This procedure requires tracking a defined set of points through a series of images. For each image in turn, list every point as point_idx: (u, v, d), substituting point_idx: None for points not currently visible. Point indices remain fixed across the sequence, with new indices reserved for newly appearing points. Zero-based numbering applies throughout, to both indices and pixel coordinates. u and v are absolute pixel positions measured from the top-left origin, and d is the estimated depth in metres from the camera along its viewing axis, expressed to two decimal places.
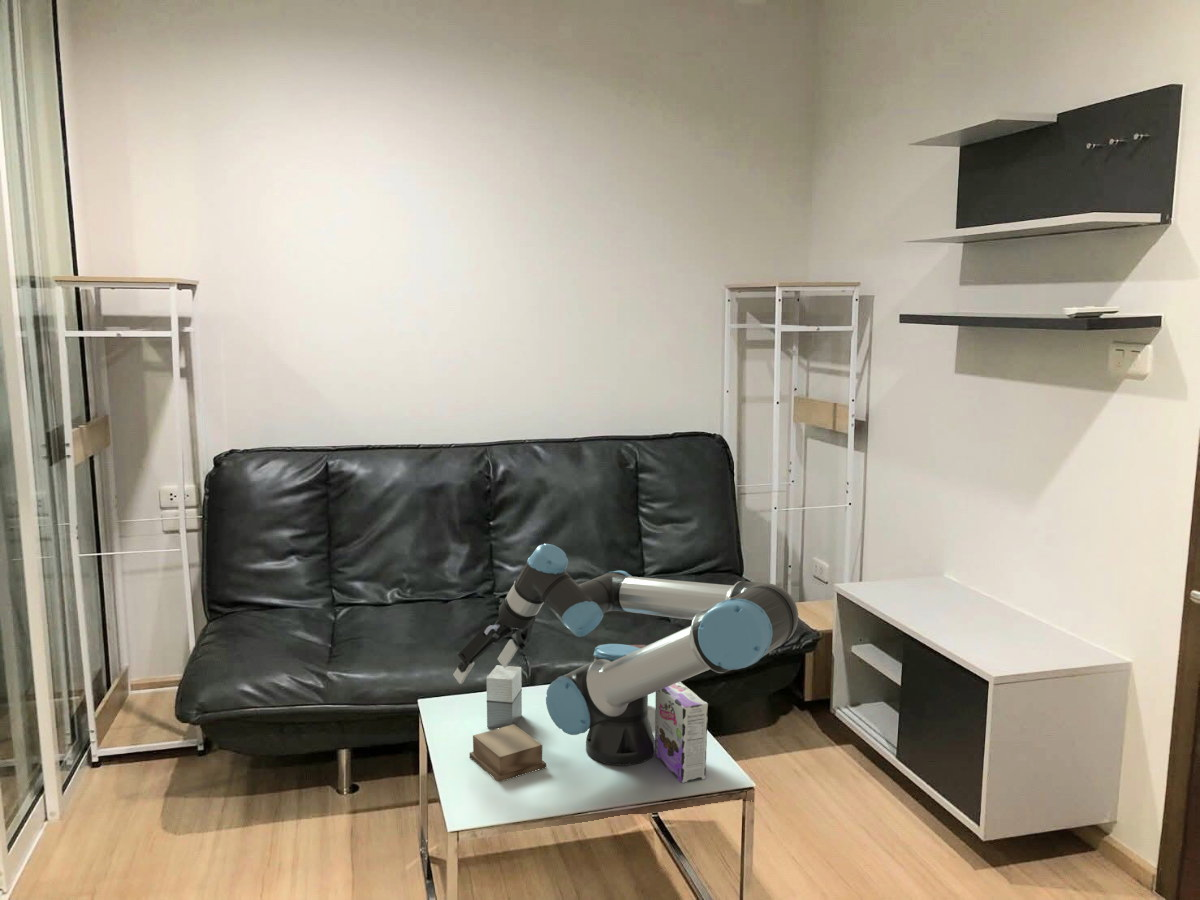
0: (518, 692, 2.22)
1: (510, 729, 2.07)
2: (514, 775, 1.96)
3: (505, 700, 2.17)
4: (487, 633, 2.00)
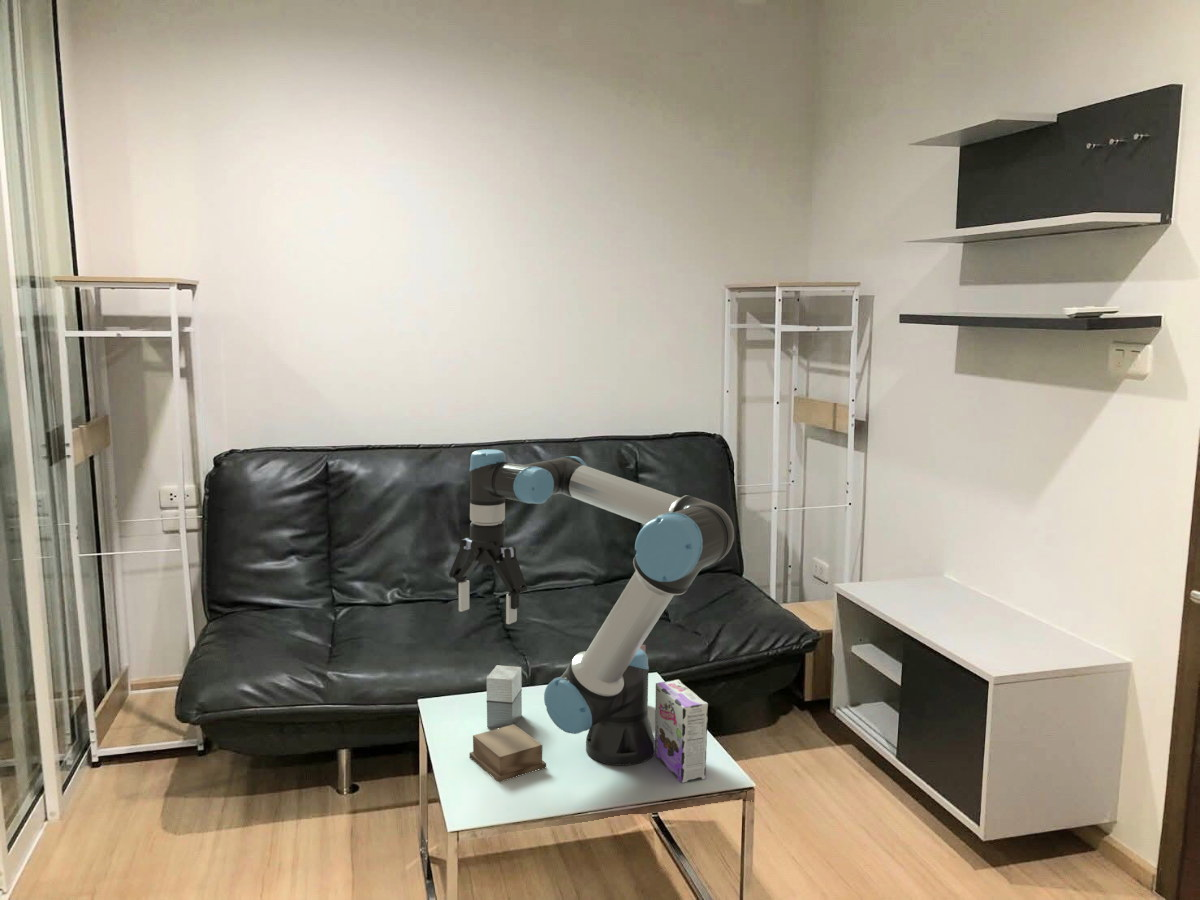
0: (518, 692, 2.22)
1: (510, 729, 2.07)
2: (514, 775, 1.96)
3: (505, 700, 2.17)
4: None
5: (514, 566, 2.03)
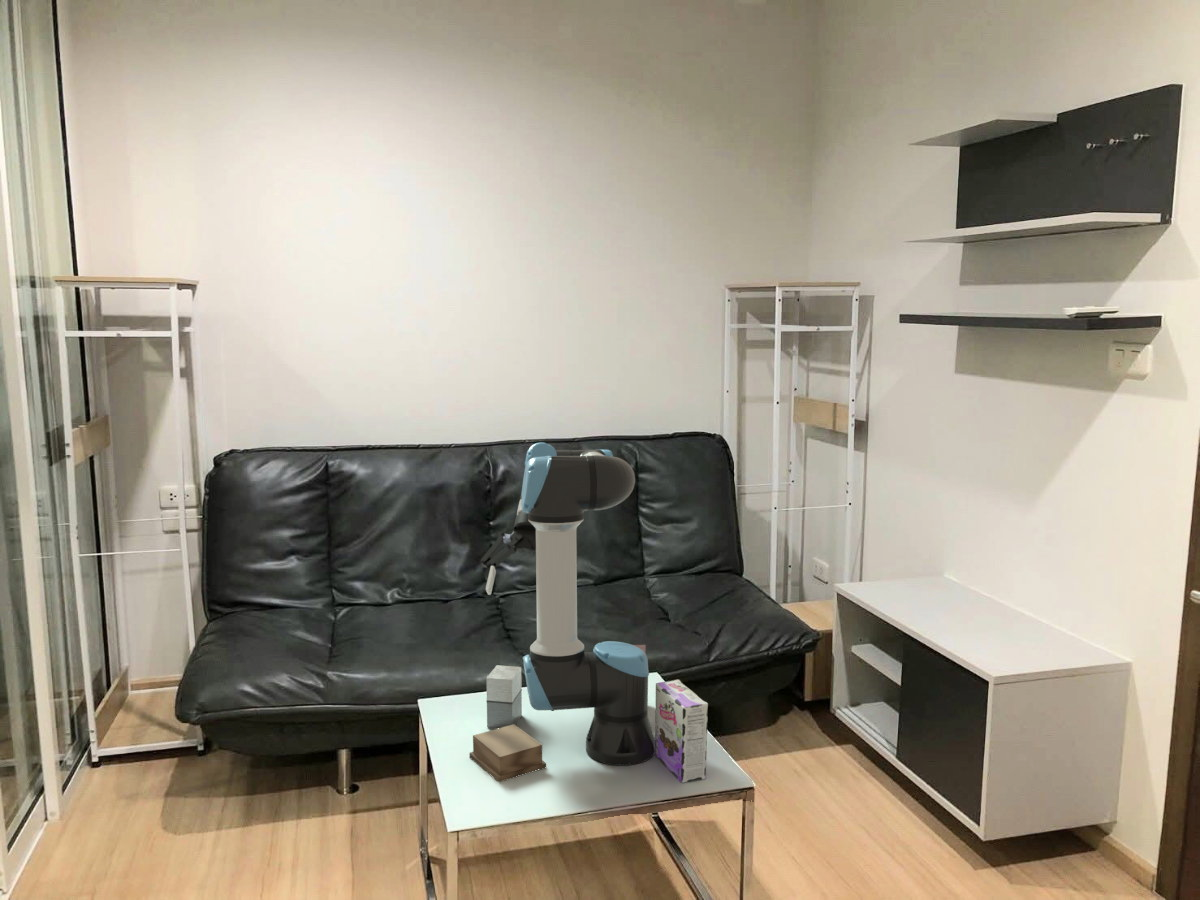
0: (518, 692, 2.22)
1: (510, 729, 2.07)
2: (514, 775, 1.96)
3: (505, 700, 2.17)
4: None
5: None
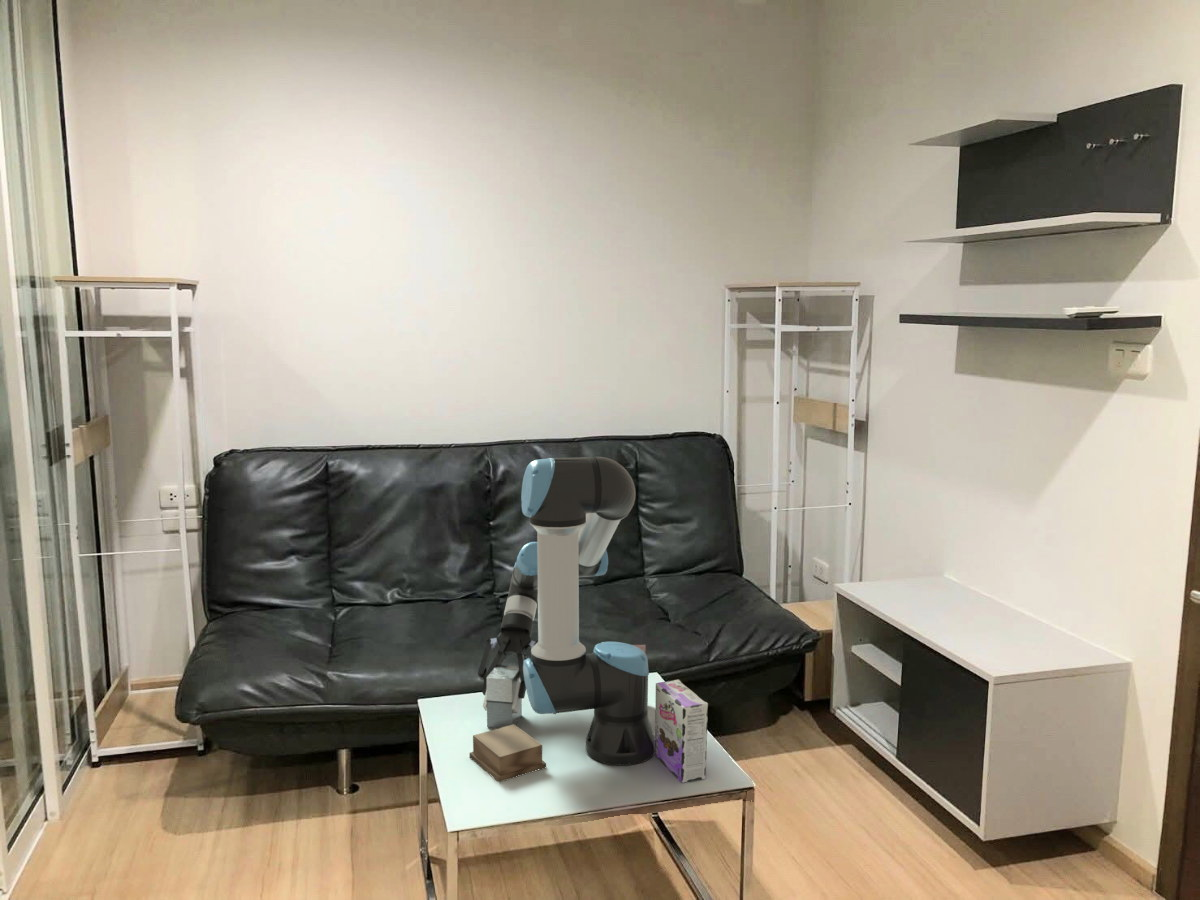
0: None
1: (510, 729, 2.07)
2: (514, 775, 1.96)
3: (505, 700, 2.17)
4: None
5: None
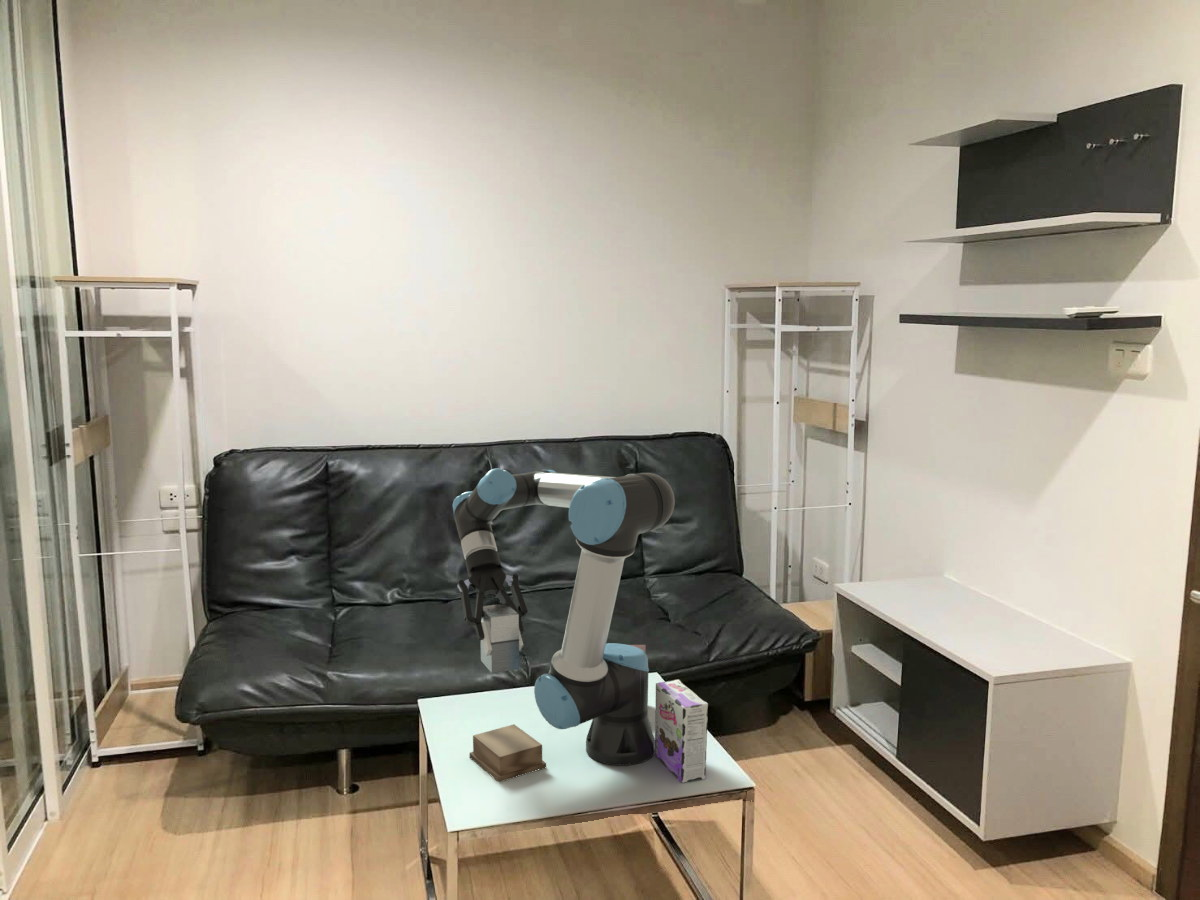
0: None
1: (510, 729, 2.07)
2: (514, 775, 1.96)
3: (511, 638, 2.00)
4: (460, 588, 2.05)
5: None
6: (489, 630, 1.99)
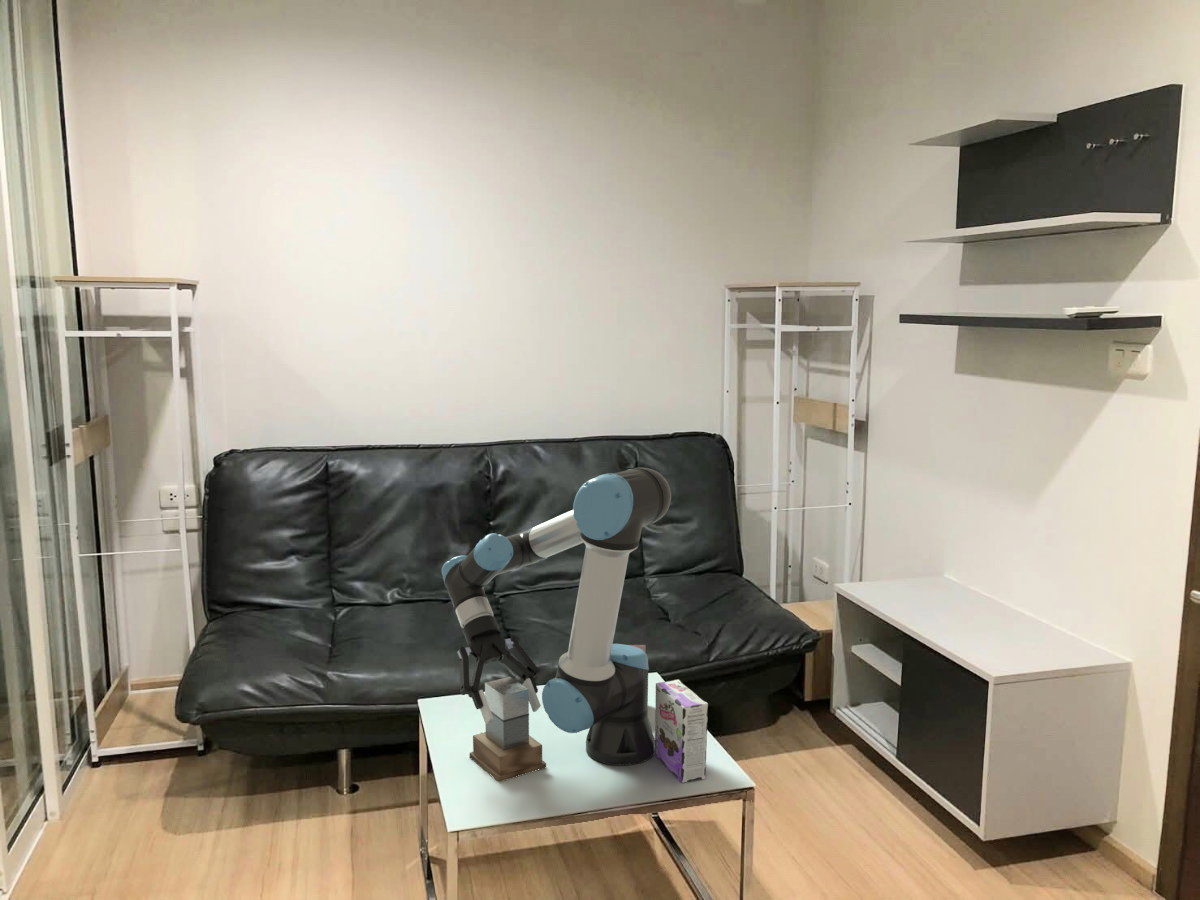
0: None
1: None
2: (514, 775, 1.96)
3: (522, 713, 1.98)
4: (460, 654, 2.02)
5: None
6: (500, 707, 1.96)
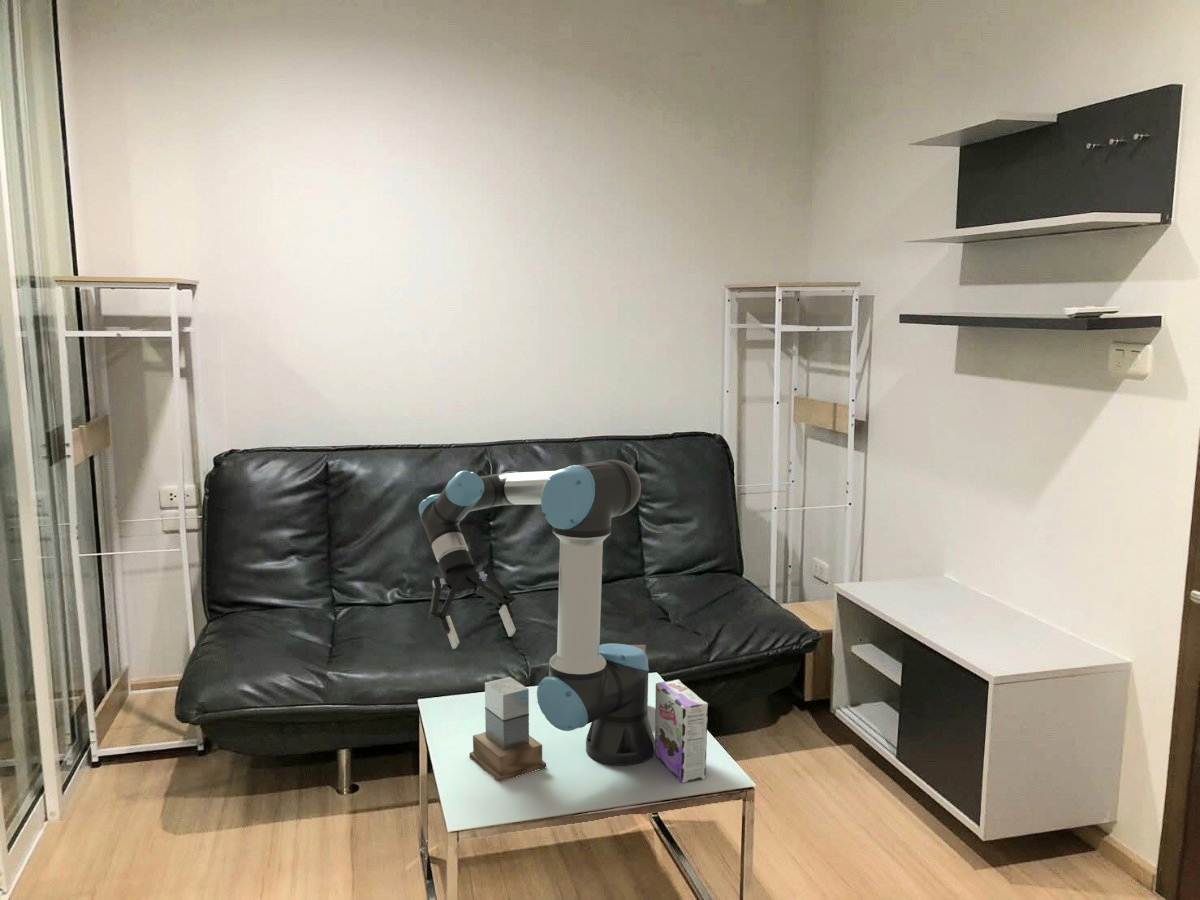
0: None
1: None
2: (514, 775, 1.96)
3: (522, 713, 1.98)
4: (434, 584, 2.10)
5: None
6: (500, 707, 1.96)
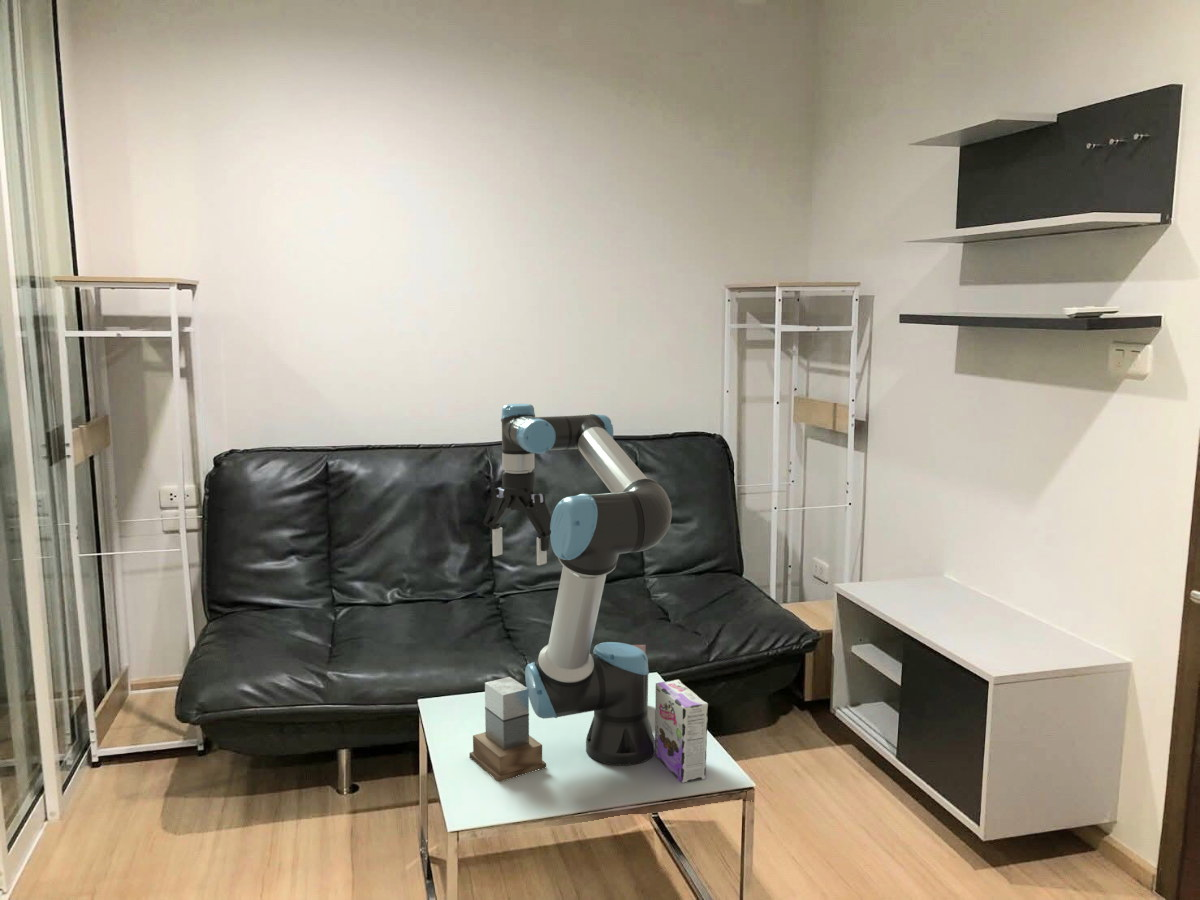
0: None
1: None
2: (514, 775, 1.96)
3: (522, 713, 1.98)
4: None
5: (543, 511, 2.18)
6: (500, 707, 1.96)
